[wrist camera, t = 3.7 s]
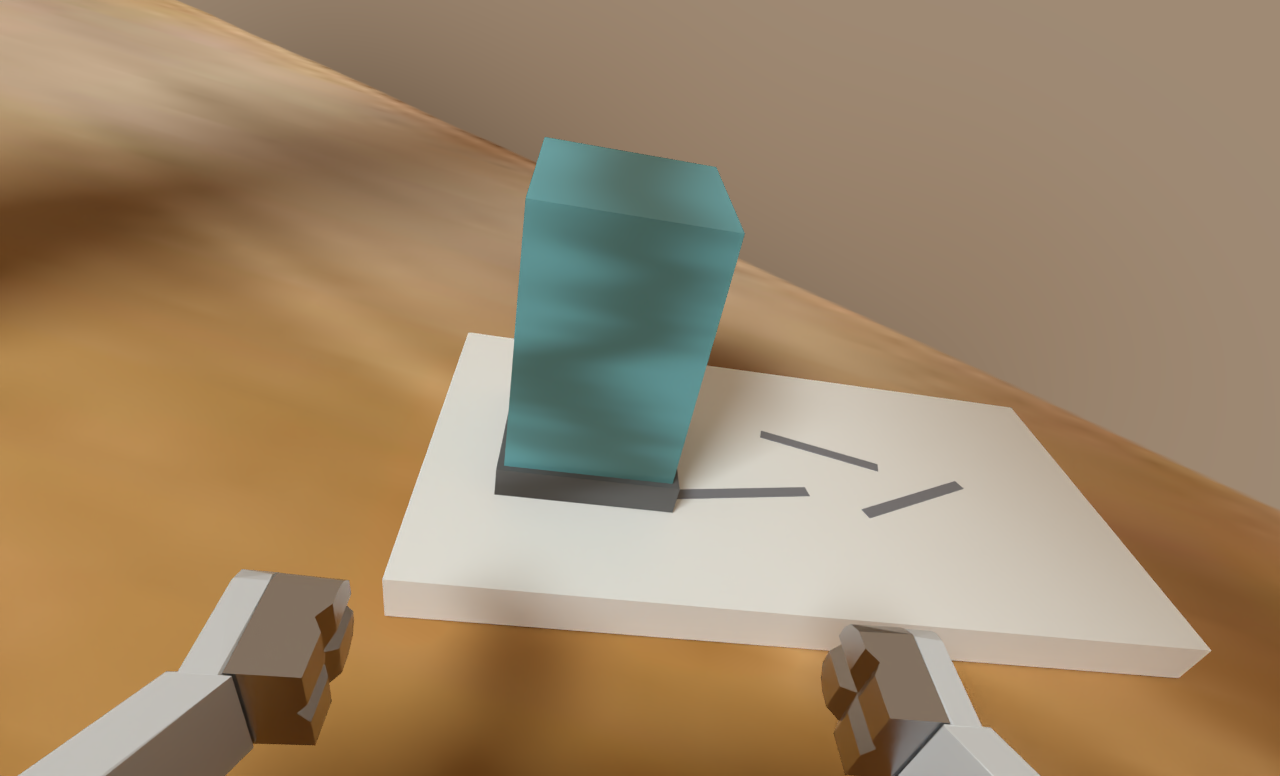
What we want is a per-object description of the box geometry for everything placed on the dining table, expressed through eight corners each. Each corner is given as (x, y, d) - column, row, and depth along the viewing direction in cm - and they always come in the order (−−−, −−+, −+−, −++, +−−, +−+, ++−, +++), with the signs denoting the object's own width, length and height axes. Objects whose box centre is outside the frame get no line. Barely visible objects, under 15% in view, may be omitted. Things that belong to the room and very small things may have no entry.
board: (384, 615, 17) (382, 578, 16) (467, 363, 27) (468, 331, 26) (1178, 678, 20) (1212, 650, 19) (994, 433, 30) (1011, 407, 29)
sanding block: (494, 494, 19) (515, 199, 14) (516, 388, 24) (538, 133, 18) (672, 512, 20) (754, 238, 15) (661, 405, 24) (721, 166, 19)
